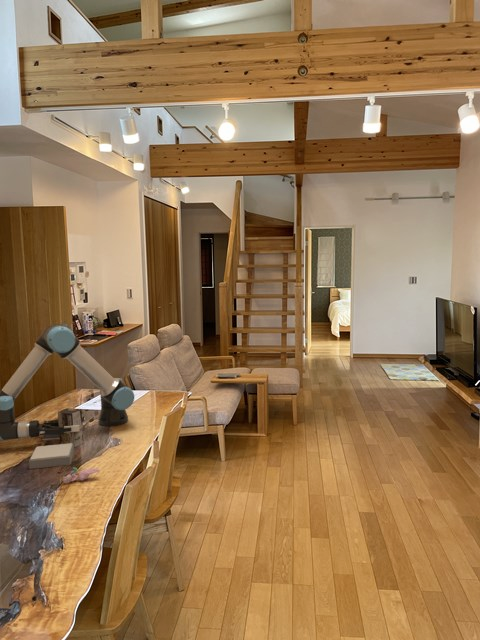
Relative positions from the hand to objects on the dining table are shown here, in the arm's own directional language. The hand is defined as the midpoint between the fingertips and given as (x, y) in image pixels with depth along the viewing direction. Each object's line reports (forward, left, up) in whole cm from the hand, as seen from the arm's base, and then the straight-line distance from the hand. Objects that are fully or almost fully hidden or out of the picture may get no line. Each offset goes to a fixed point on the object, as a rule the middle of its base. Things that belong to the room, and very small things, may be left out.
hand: (80, 424), depth 237 cm
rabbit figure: (-3, +44, -9) cm, 45 cm away
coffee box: (+4, 0, -9) cm, 10 cm away
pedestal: (+10, +18, -9) cm, 23 cm away
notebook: (+12, -20, -10) cm, 26 cm away
